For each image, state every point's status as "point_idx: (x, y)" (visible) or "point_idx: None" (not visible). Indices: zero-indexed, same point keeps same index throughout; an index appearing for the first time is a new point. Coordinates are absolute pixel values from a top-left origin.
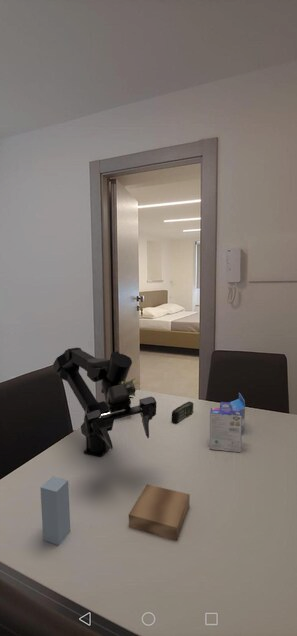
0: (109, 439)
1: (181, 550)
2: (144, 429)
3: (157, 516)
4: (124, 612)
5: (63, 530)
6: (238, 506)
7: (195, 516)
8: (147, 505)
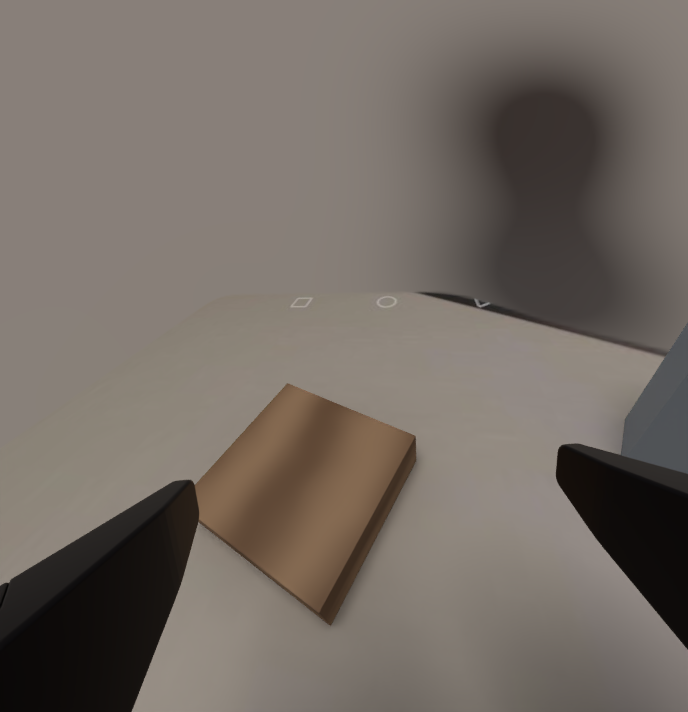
0: (636, 470)
1: (297, 386)
2: (130, 683)
3: (325, 419)
4: (422, 306)
5: (635, 418)
6: (70, 497)
7: None
8: (345, 467)
